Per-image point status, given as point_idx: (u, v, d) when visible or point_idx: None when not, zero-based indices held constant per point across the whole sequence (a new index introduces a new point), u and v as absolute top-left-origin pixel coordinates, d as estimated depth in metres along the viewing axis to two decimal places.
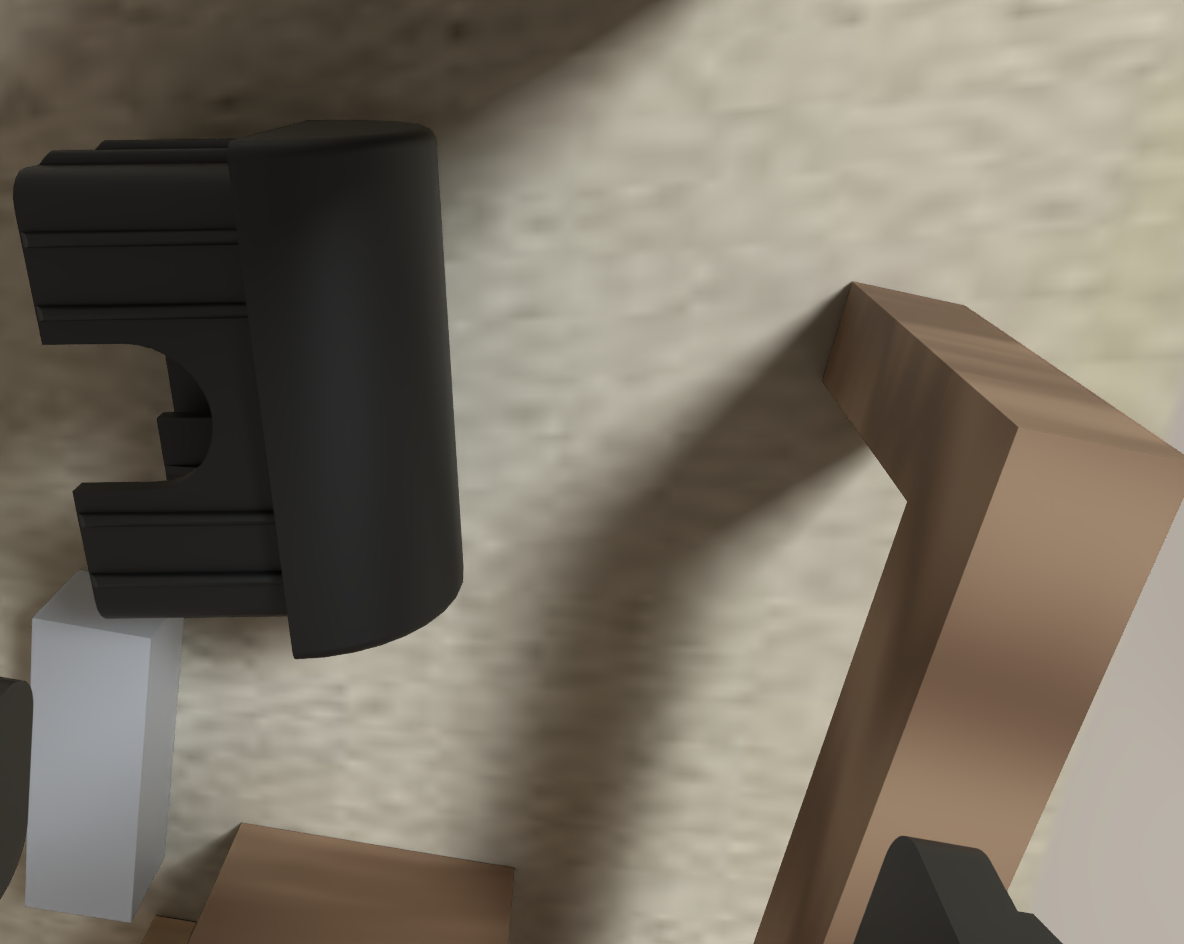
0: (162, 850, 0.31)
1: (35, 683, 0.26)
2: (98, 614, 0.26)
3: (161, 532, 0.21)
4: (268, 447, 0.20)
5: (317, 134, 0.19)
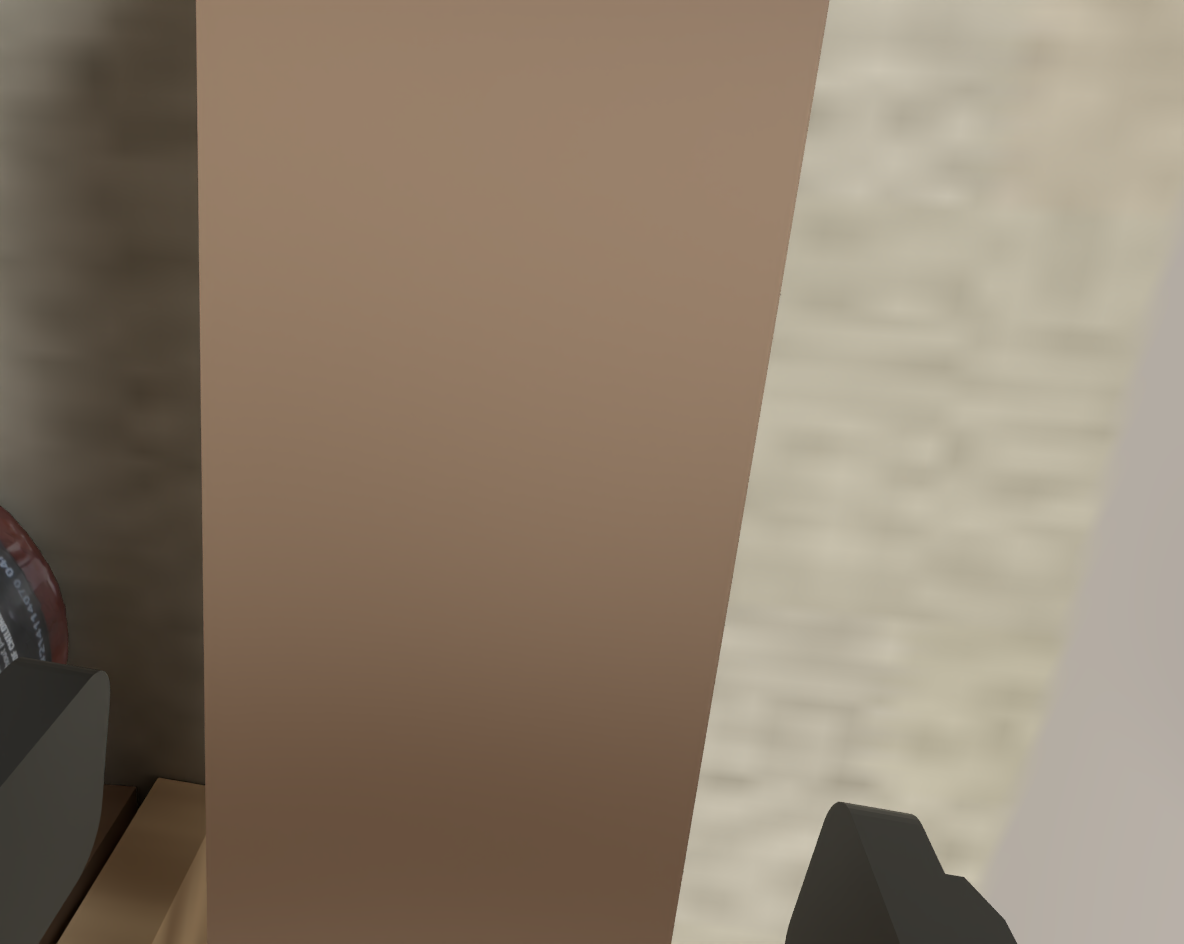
0: None
1: None
2: None
3: None
4: None
5: None
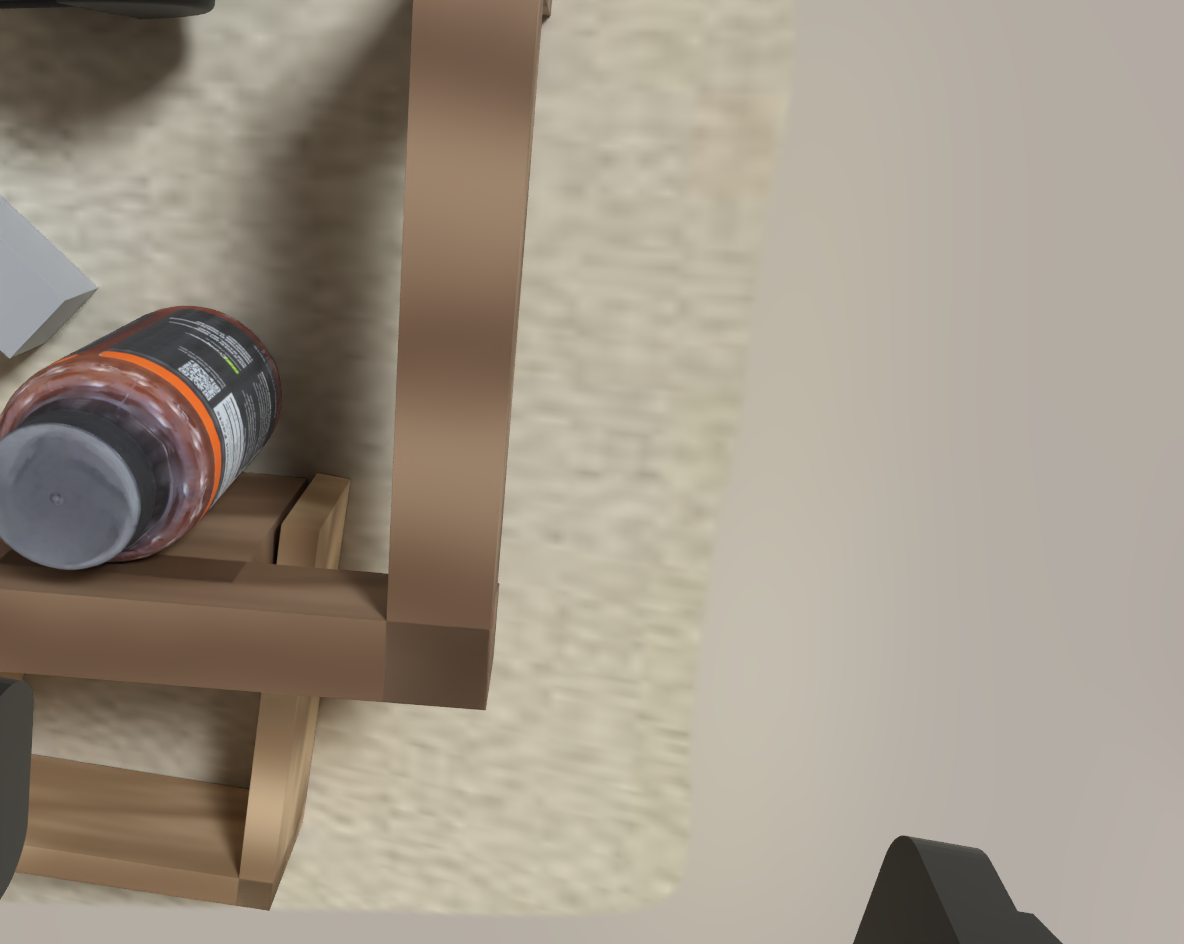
0: None
1: (16, 259, 0.34)
2: (48, 323, 0.35)
3: None
4: None
5: None
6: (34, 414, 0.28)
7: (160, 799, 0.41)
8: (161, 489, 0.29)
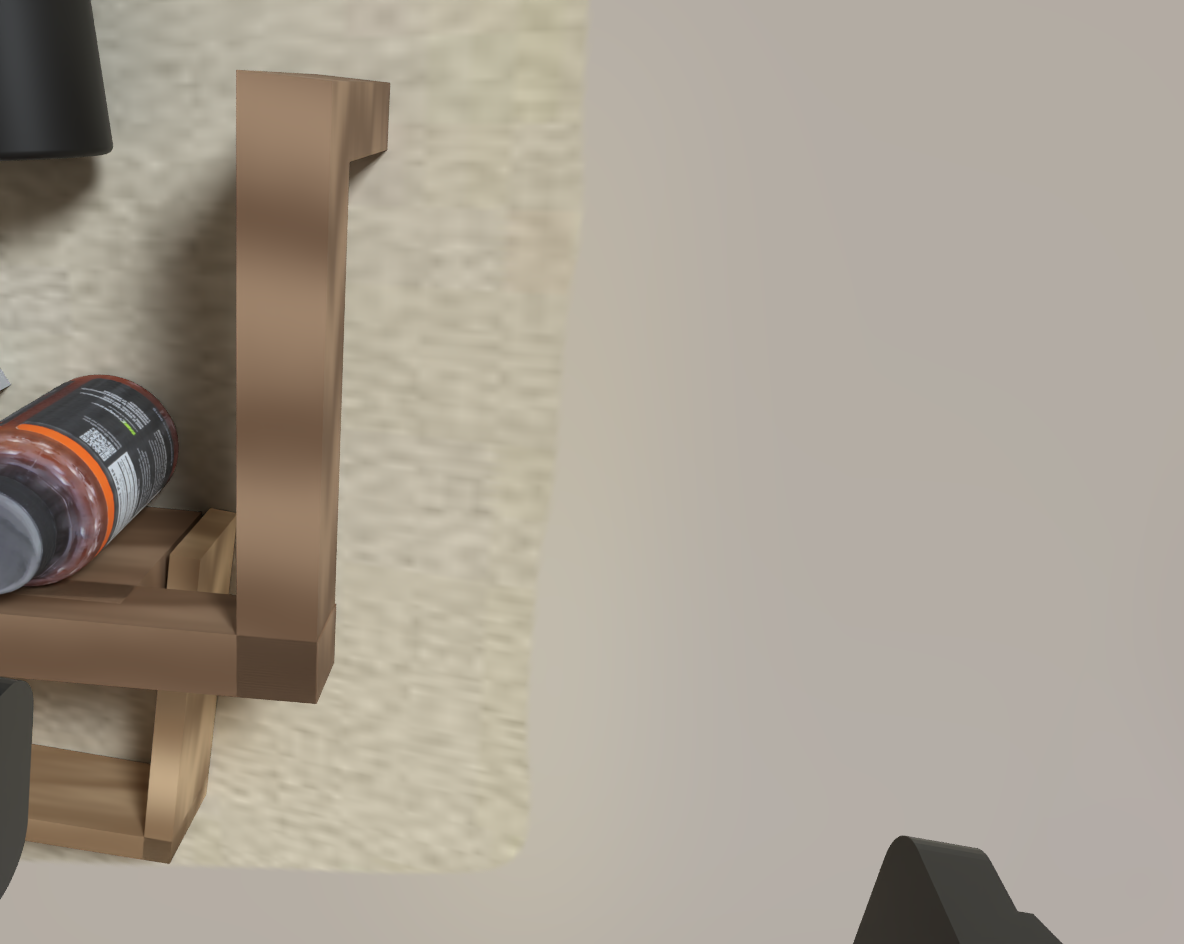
0: None
1: None
2: None
3: None
4: None
5: None
6: None
7: (84, 773, 0.50)
8: (62, 533, 0.37)
